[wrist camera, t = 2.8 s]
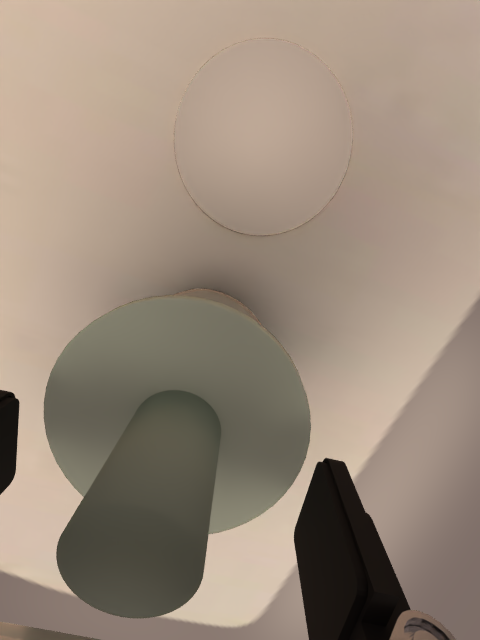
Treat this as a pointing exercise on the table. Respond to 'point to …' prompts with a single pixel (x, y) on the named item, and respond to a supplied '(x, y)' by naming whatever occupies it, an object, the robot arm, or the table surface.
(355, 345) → the table surface
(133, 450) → the lid
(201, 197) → the mat
